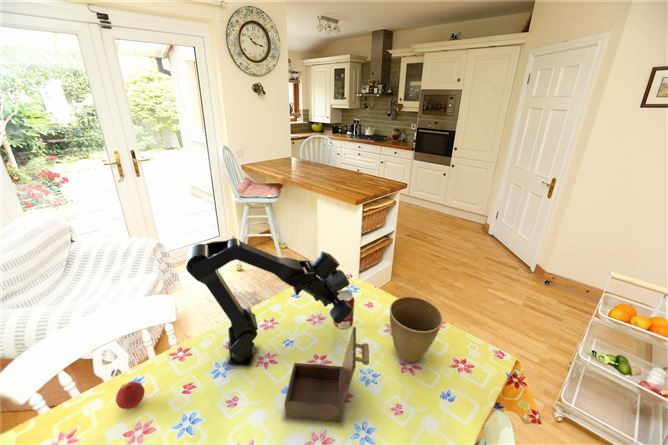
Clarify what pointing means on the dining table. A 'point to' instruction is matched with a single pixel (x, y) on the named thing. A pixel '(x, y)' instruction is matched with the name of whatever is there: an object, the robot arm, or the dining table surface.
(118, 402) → the onion
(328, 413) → the chest
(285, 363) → the dining table surface
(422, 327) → the plant pot
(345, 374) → the chest lid
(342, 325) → the soda can
